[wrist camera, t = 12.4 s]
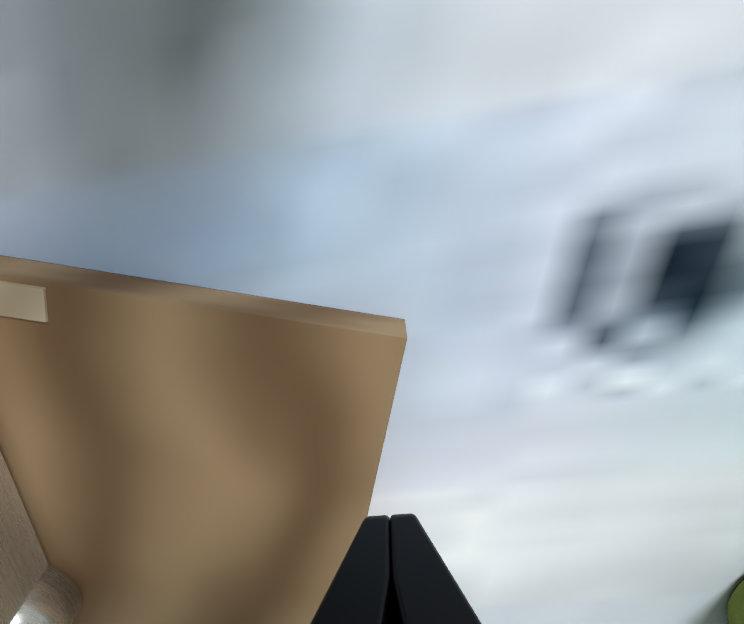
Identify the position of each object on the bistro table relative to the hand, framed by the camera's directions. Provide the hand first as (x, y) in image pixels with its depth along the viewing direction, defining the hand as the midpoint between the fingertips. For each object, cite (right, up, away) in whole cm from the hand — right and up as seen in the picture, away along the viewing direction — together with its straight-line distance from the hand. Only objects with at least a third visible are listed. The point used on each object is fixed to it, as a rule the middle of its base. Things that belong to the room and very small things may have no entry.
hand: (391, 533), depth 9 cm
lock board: (-12, -5, +14) cm, 19 cm away
